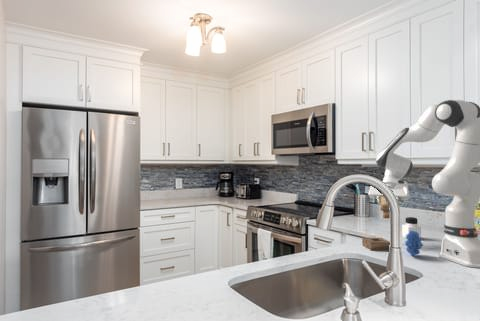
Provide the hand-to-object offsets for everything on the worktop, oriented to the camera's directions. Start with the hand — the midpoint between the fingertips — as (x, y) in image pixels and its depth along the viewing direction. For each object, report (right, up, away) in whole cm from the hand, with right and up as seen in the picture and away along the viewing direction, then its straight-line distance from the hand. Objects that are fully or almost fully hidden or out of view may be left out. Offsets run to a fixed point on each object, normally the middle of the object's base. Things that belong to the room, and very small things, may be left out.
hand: (386, 204), depth 167 cm
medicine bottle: (+22, -22, +15) cm, 34 cm away
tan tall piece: (0, -7, 0) cm, 7 cm away
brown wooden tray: (-9, -21, -8) cm, 24 cm away
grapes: (+3, -21, -23) cm, 31 cm away
